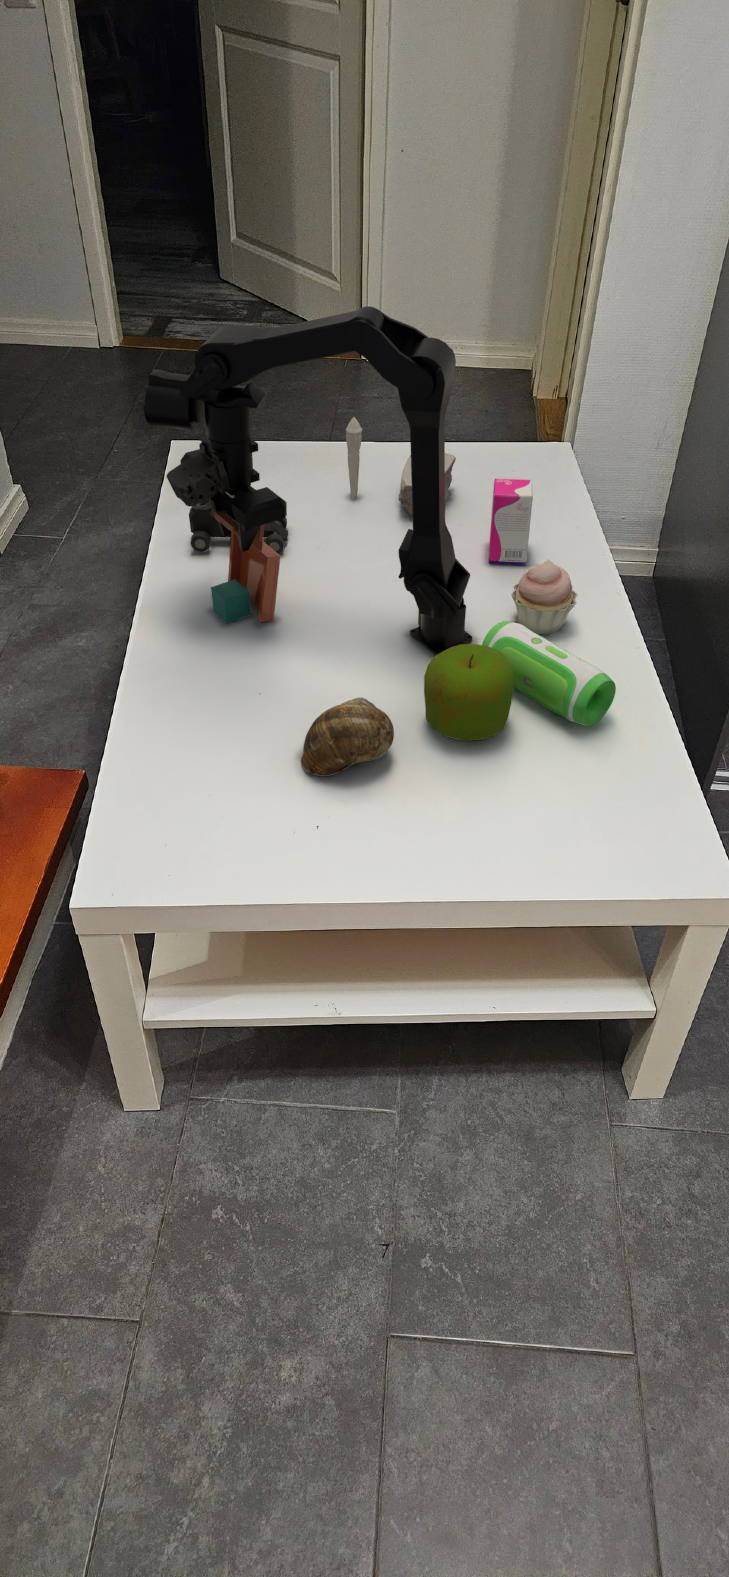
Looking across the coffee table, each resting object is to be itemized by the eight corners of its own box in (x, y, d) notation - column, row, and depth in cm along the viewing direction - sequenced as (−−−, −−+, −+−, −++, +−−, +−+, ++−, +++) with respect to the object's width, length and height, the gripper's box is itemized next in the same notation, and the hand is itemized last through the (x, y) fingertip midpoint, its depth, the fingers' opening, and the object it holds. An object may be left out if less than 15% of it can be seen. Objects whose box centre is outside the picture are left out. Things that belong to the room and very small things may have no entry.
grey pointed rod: (351, 492, 182) (350, 412, 172) (365, 496, 181) (365, 415, 171) (343, 498, 180) (342, 417, 171) (357, 502, 179) (356, 421, 170)
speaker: (474, 676, 143) (478, 629, 138) (511, 655, 147) (517, 608, 142) (576, 739, 134) (584, 691, 129) (613, 715, 137) (623, 667, 132)
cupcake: (569, 604, 156) (578, 543, 149) (577, 641, 149) (587, 579, 143) (504, 604, 156) (511, 543, 150) (510, 641, 149) (517, 578, 143)
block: (224, 600, 150) (226, 624, 153) (249, 591, 152) (251, 615, 154) (210, 587, 152) (213, 611, 155) (235, 578, 154) (237, 602, 157)
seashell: (390, 732, 135) (391, 680, 129) (396, 781, 128) (397, 729, 123) (300, 735, 134) (297, 684, 129) (301, 785, 128) (298, 733, 122)
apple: (485, 690, 141) (491, 620, 134) (525, 738, 134) (534, 667, 127) (408, 710, 138) (410, 639, 131) (444, 761, 131) (448, 689, 123)
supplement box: (525, 546, 168) (533, 478, 161) (526, 566, 164) (533, 497, 156) (488, 545, 169) (494, 477, 161) (487, 564, 165) (493, 495, 157)
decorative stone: (449, 482, 185) (391, 481, 184) (453, 444, 180) (394, 443, 180) (459, 525, 174) (398, 524, 174) (463, 485, 170) (401, 485, 169)
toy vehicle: (196, 529, 173) (190, 478, 167) (289, 529, 173) (286, 478, 167) (189, 555, 167) (183, 503, 161) (286, 555, 167) (283, 503, 161)
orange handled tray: (283, 529, 145) (241, 534, 142) (273, 620, 153) (233, 627, 150) (246, 500, 151) (205, 504, 148) (239, 589, 160) (200, 595, 156)
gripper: (139, 421, 140) (152, 529, 150) (208, 478, 129) (216, 590, 139) (215, 403, 145) (222, 508, 155) (287, 456, 133) (290, 566, 144)
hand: (235, 542), depth 148 cm, fingers closed on orange handled tray, 5 cm apart
